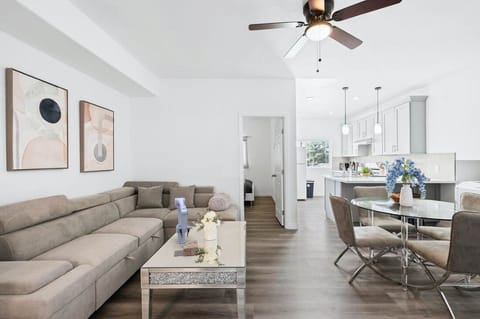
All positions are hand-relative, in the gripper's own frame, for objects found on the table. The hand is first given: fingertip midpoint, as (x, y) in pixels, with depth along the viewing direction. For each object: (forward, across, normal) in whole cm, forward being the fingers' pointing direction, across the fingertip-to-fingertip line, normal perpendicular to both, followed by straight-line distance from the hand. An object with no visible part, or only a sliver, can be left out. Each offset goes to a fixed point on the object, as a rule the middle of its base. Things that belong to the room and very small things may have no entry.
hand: (184, 237), depth 243 cm
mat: (+9, +5, -16) cm, 19 cm away
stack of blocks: (+6, +11, -14) cm, 19 cm away
